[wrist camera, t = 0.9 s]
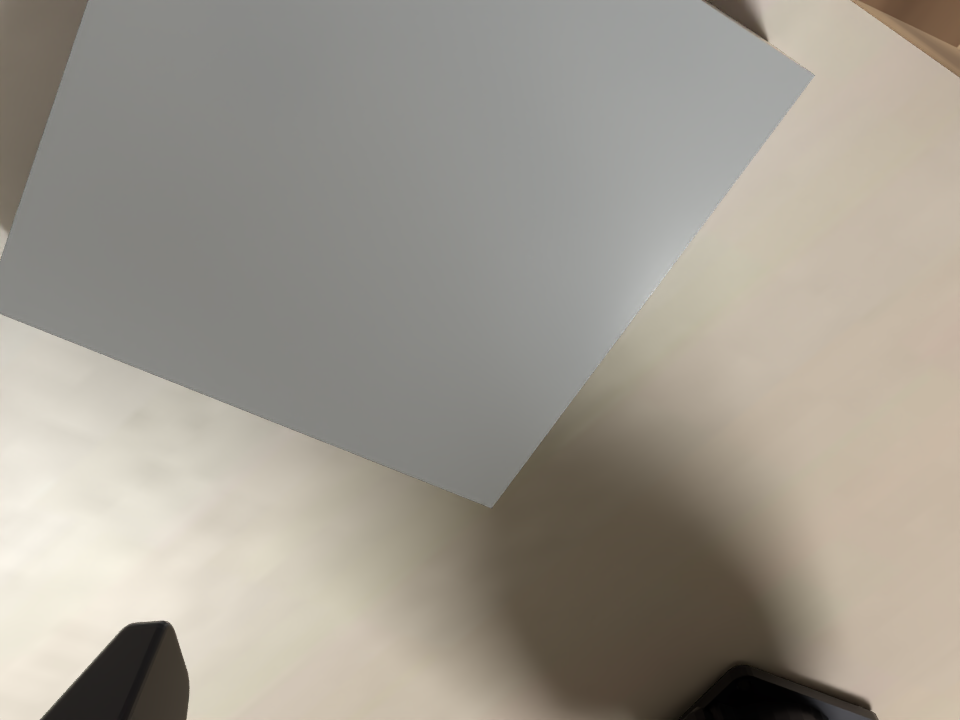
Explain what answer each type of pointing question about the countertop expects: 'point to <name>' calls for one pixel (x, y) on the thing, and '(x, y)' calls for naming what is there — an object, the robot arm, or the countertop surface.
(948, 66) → the walnut cube
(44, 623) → the countertop surface
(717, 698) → the robot arm
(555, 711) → the countertop surface
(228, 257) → the slate tile
